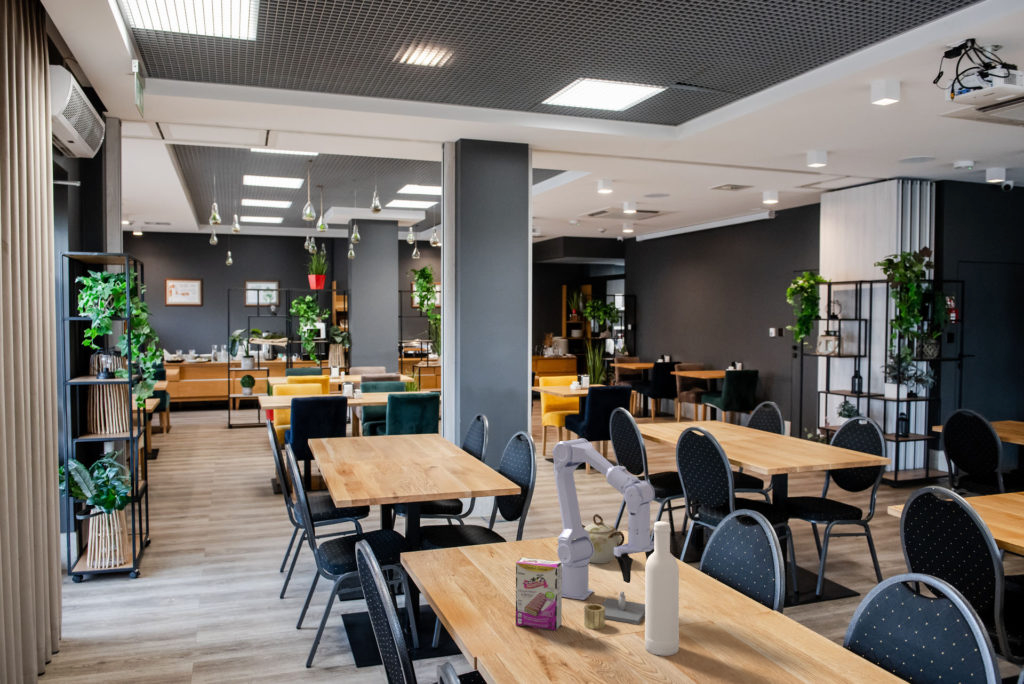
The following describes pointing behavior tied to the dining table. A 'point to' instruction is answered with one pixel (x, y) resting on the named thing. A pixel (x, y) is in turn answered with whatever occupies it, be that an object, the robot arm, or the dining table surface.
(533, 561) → the candy bar box
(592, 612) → the collar
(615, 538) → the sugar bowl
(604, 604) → the stand
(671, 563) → the bottle
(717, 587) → the dining table surface
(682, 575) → the dining table surface
